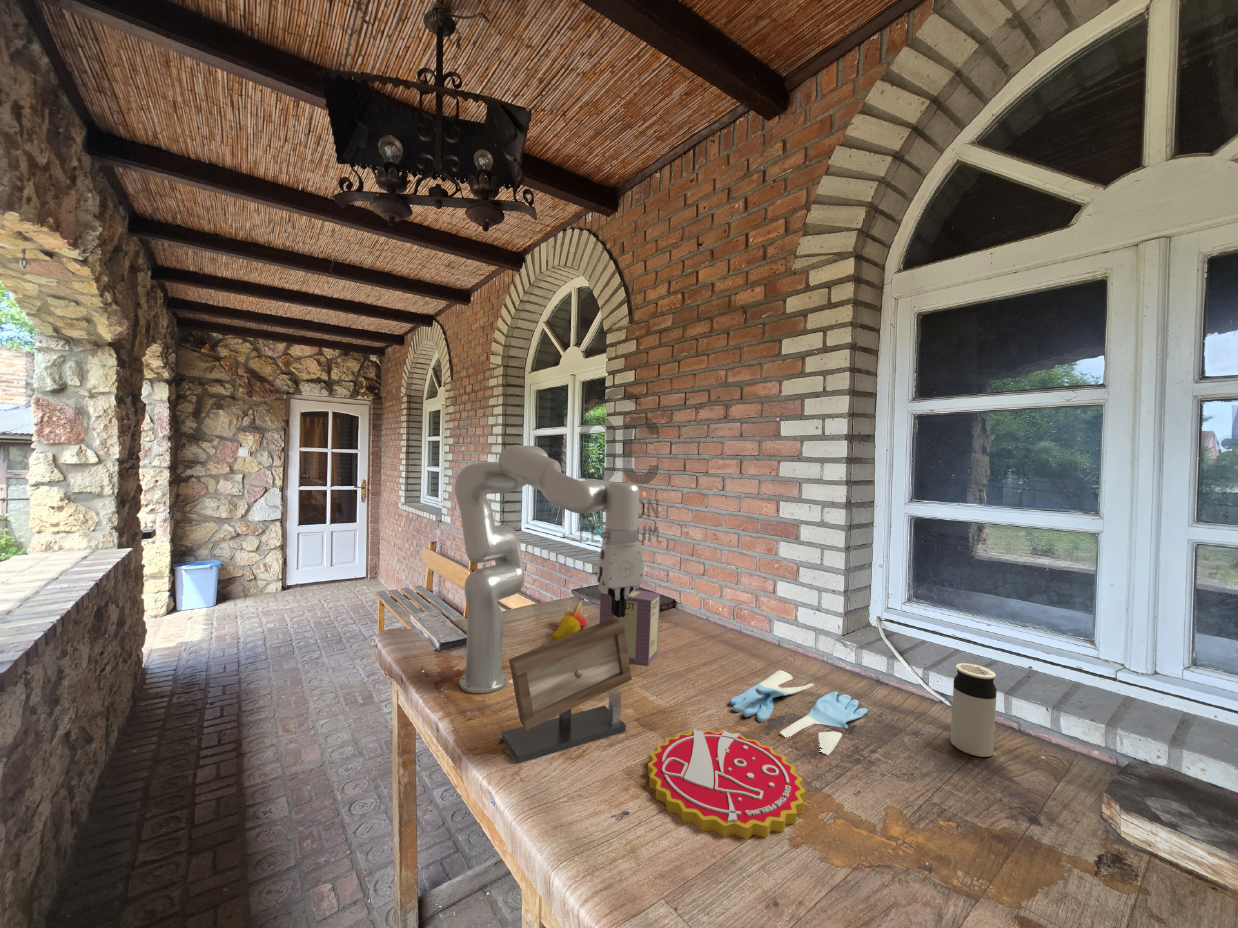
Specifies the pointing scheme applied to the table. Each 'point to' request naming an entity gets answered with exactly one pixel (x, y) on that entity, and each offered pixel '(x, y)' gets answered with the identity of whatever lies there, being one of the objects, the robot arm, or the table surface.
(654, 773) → the decorative sign
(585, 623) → the torch
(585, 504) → the robot arm
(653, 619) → the box
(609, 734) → the pivot stand
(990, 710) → the travel mug
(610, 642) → the wooden drawer
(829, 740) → the rubber gloves
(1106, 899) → the table surface
